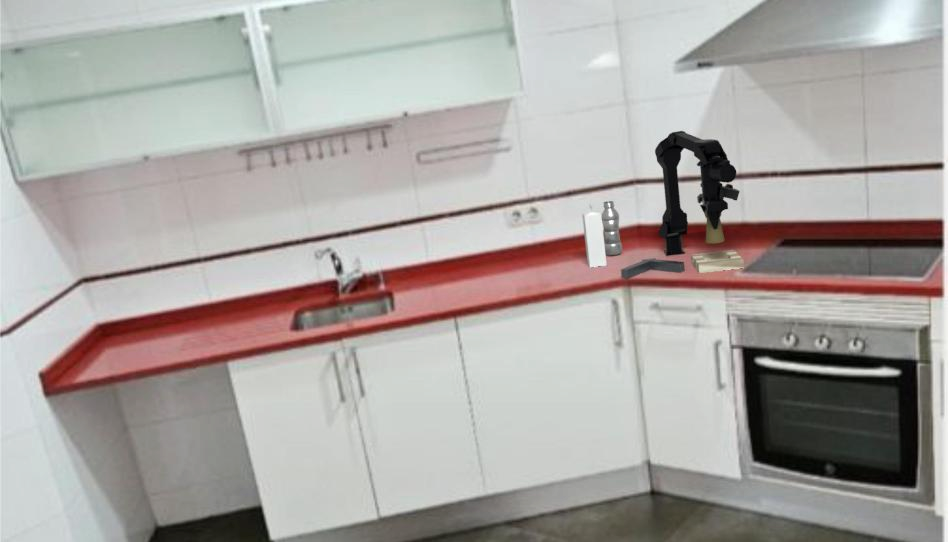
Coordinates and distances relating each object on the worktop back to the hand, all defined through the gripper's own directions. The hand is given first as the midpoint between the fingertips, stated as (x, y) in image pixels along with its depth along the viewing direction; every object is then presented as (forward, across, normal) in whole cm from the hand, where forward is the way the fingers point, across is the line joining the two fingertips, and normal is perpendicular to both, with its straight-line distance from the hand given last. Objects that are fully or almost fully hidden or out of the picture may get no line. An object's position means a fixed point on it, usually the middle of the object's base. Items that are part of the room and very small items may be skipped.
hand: (713, 227), depth 263 cm
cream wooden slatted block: (+13, 0, 0) cm, 13 cm away
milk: (+13, +20, +38) cm, 45 cm away
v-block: (+13, +2, +21) cm, 25 cm away
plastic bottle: (+13, +33, +31) cm, 47 cm away
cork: (+5, 0, 0) cm, 5 cm away
